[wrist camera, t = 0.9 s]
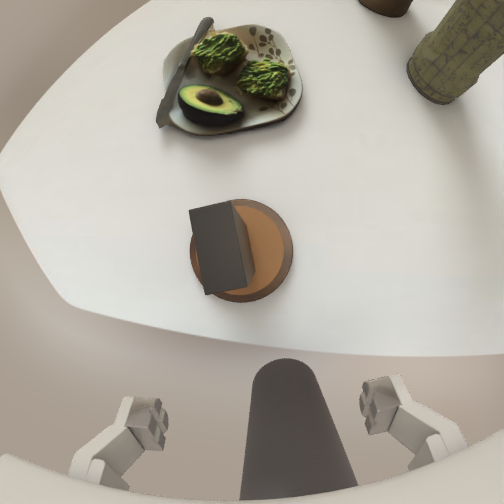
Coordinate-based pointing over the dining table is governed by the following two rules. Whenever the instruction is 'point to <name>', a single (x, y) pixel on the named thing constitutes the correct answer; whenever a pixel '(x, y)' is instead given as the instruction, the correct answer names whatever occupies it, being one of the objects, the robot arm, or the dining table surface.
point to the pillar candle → (388, 6)
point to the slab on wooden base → (236, 248)
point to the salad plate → (229, 81)
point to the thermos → (458, 50)
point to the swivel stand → (285, 265)
